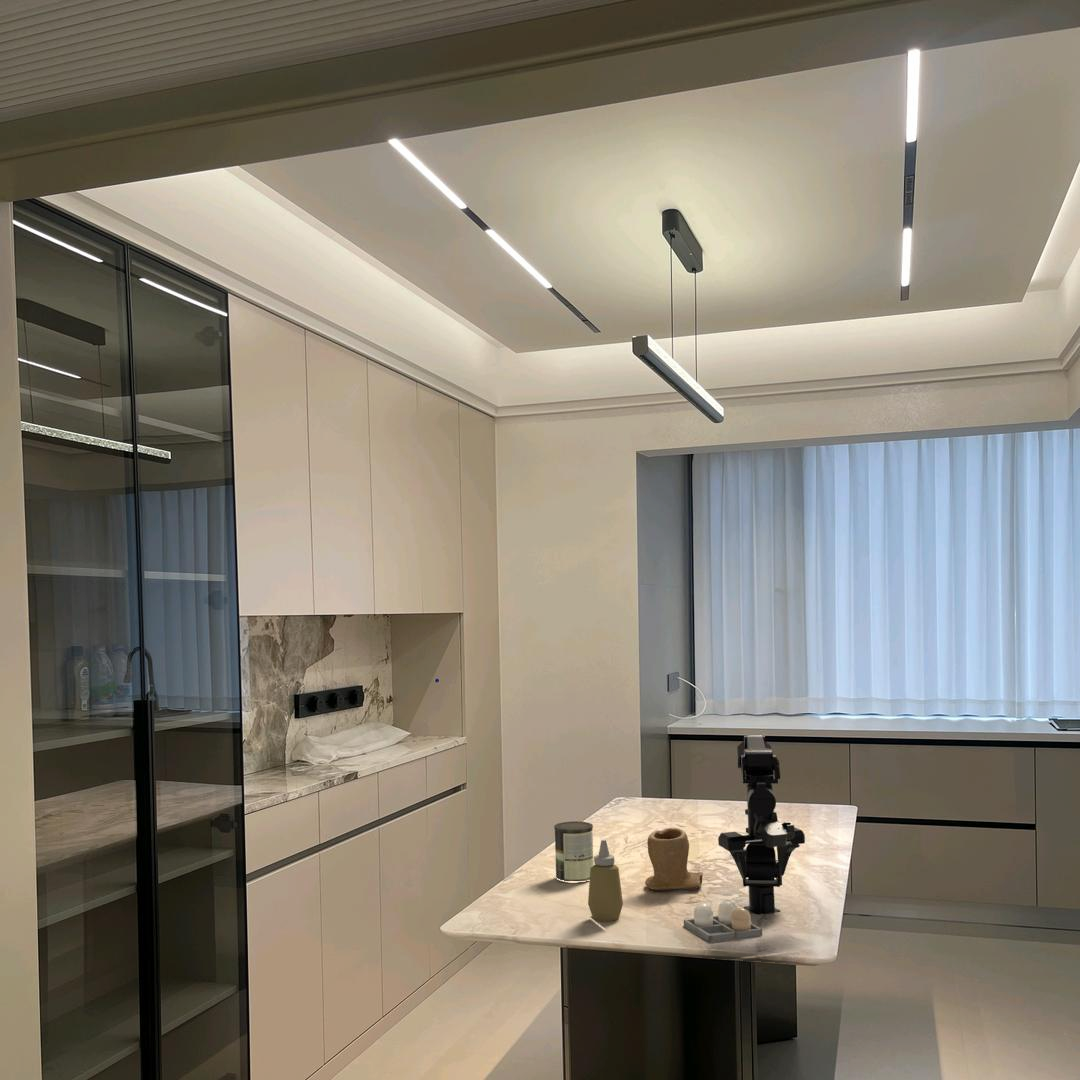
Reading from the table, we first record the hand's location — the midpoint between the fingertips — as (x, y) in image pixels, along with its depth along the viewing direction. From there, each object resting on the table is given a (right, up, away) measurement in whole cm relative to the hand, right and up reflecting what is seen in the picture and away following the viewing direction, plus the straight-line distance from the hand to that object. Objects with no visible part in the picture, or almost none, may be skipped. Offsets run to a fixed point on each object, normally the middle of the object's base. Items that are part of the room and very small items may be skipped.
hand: (763, 877), depth 237 cm
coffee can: (-40, -15, +46) cm, 63 cm away
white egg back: (-13, -11, -1) cm, 17 cm away
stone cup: (-15, -14, +34) cm, 39 cm away
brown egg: (-6, -10, -5) cm, 13 cm away
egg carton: (-10, -11, -3) cm, 15 cm away
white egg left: (-8, -11, 0) cm, 13 cm away
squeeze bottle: (-34, -13, +9) cm, 38 cm away
